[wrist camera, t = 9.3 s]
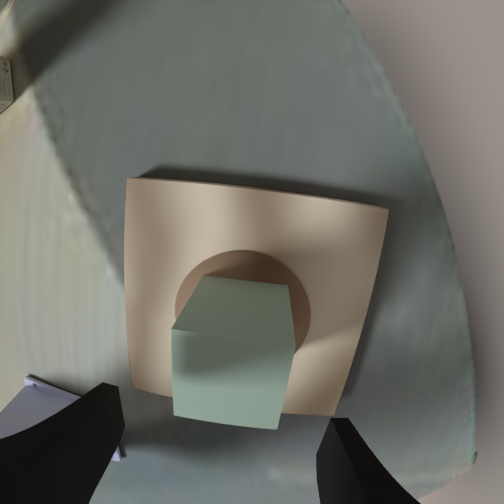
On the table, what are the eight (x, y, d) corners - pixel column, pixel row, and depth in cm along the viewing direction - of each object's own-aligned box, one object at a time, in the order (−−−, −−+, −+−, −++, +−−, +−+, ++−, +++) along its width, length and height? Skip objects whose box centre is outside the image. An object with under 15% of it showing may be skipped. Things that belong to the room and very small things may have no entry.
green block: (199, 346, 18) (173, 415, 12) (203, 275, 17) (171, 328, 11) (276, 356, 18) (276, 429, 12) (288, 285, 17) (295, 345, 11)
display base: (139, 376, 21) (131, 389, 19) (137, 176, 17) (125, 178, 16) (330, 402, 21) (334, 417, 19) (380, 206, 17) (390, 210, 15)
